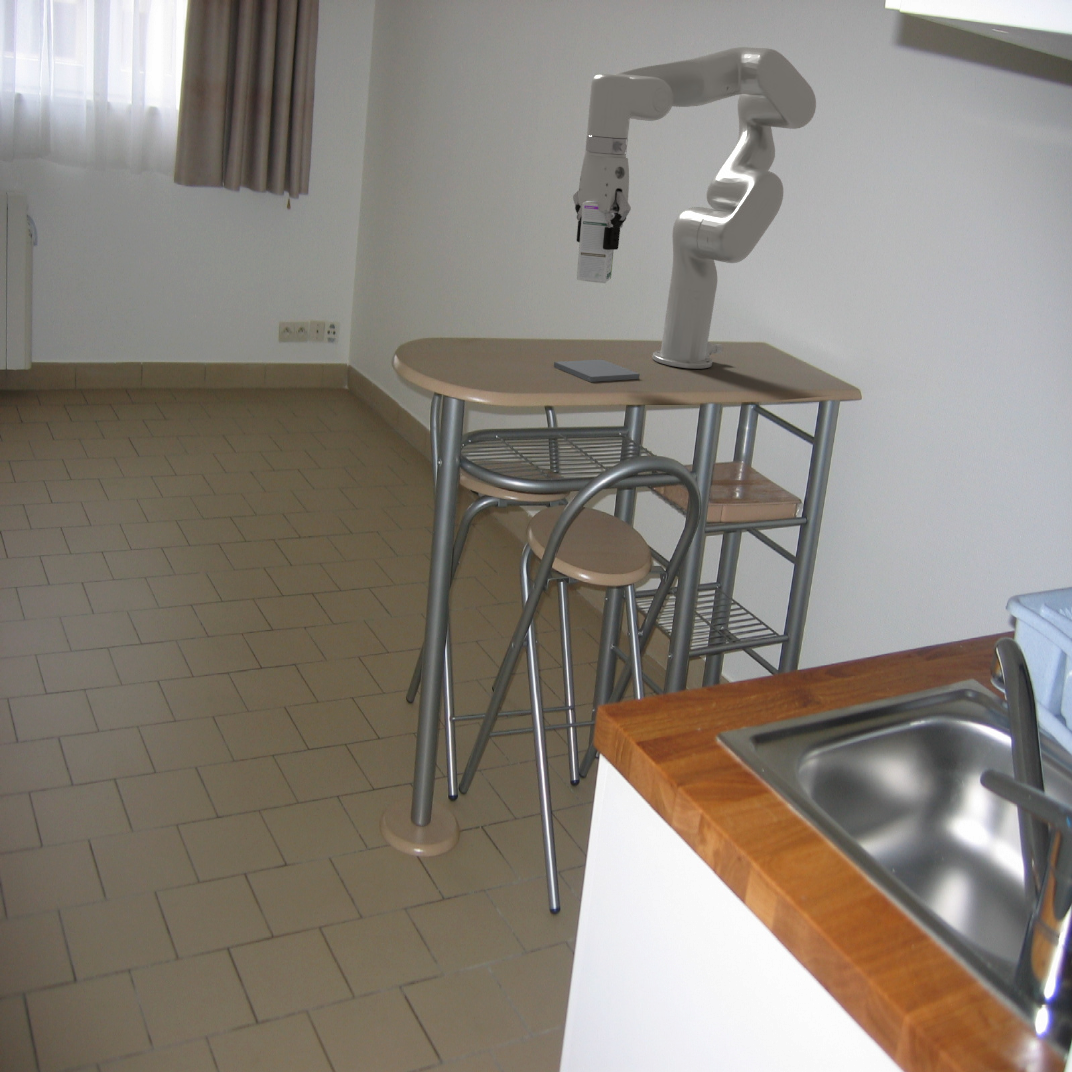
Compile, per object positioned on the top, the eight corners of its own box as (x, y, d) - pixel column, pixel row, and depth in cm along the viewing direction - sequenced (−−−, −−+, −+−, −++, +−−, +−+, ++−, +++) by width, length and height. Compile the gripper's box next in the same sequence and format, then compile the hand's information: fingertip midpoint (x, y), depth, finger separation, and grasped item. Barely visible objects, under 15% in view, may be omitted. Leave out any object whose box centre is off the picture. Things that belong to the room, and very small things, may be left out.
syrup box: (606, 283, 213) (614, 204, 207) (575, 280, 214) (582, 200, 208) (611, 279, 218) (619, 201, 212) (581, 275, 219) (588, 198, 214)
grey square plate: (601, 364, 230) (602, 359, 230) (639, 378, 221) (639, 373, 221) (553, 366, 223) (554, 361, 223) (590, 382, 214) (590, 376, 214)
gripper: (652, 152, 202) (641, 253, 209) (594, 143, 215) (586, 238, 222) (618, 151, 198) (608, 253, 205) (562, 142, 211) (554, 238, 218)
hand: (596, 245), depth 213 cm, fingers closed on syrup box, 7 cm apart
